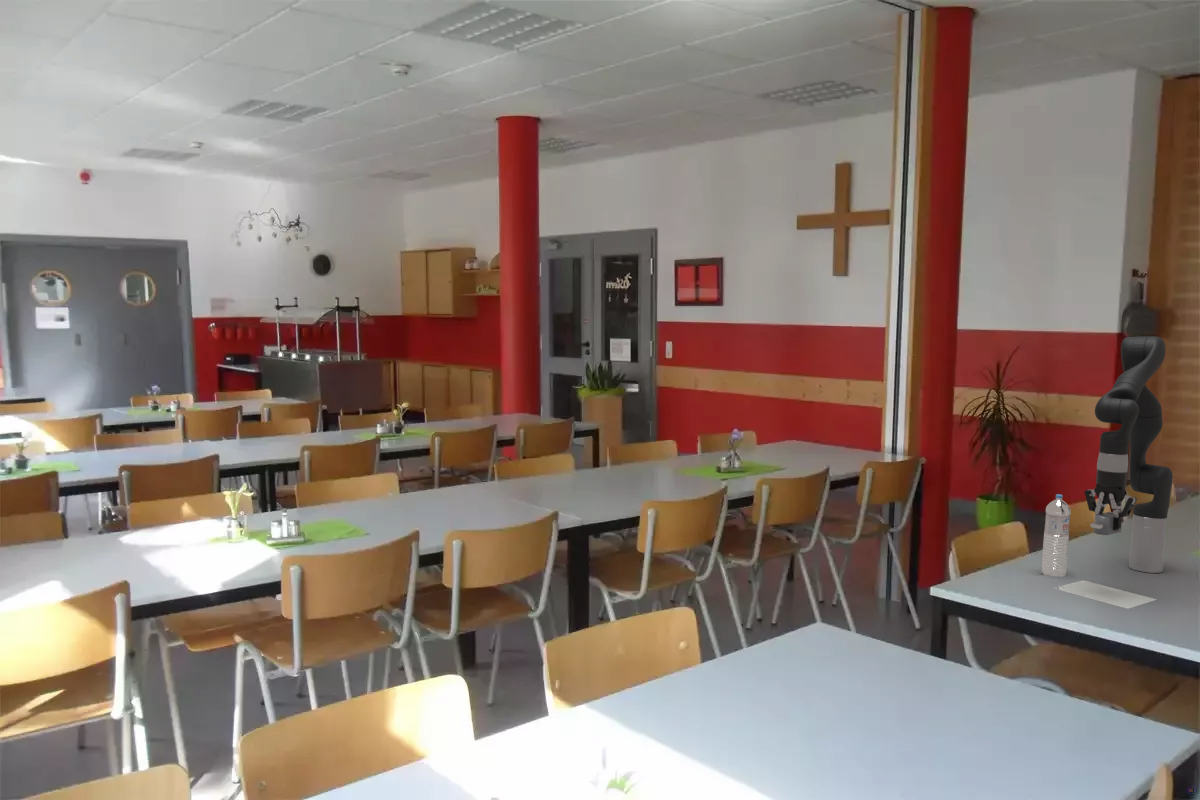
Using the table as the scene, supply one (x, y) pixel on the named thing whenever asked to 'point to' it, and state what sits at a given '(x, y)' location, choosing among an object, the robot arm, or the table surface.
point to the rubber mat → (1106, 594)
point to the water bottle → (1056, 538)
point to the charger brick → (1104, 524)
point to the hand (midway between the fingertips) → (1107, 528)
